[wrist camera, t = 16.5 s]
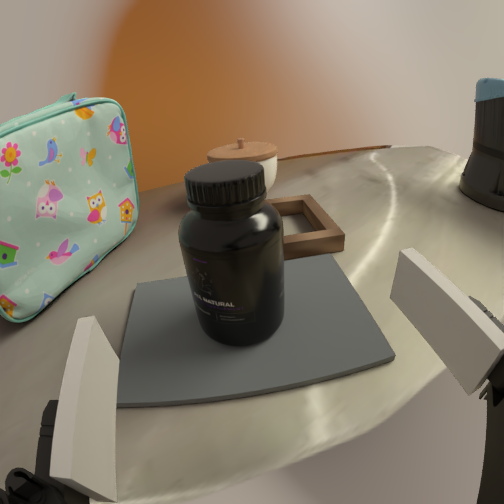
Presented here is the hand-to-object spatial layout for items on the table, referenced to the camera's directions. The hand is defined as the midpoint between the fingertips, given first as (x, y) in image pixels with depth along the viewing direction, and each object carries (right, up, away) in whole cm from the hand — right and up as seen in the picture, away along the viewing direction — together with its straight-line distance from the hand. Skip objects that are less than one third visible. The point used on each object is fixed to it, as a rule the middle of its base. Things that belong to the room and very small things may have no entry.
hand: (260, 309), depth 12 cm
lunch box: (-24, 0, +22) cm, 33 cm away
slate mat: (-1, -3, +12) cm, 13 cm away
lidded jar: (-1, +11, +36) cm, 38 cm away
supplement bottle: (-1, -3, +12) cm, 12 cm away
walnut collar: (+3, +5, +25) cm, 25 cm away
